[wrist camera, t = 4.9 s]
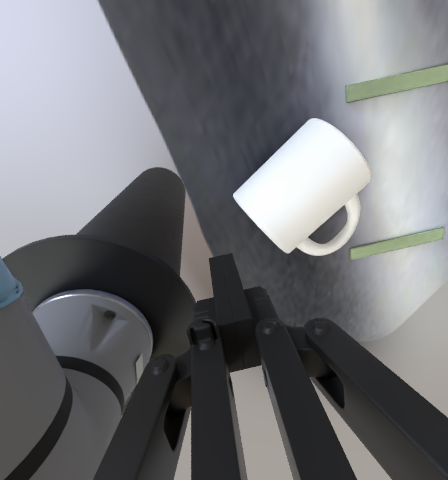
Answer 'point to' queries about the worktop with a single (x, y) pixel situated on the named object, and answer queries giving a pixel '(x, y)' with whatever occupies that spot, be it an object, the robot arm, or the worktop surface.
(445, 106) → the worktop surface
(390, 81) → the strips
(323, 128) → the mug
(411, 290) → the worktop surface
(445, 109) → the worktop surface
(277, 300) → the worktop surface
